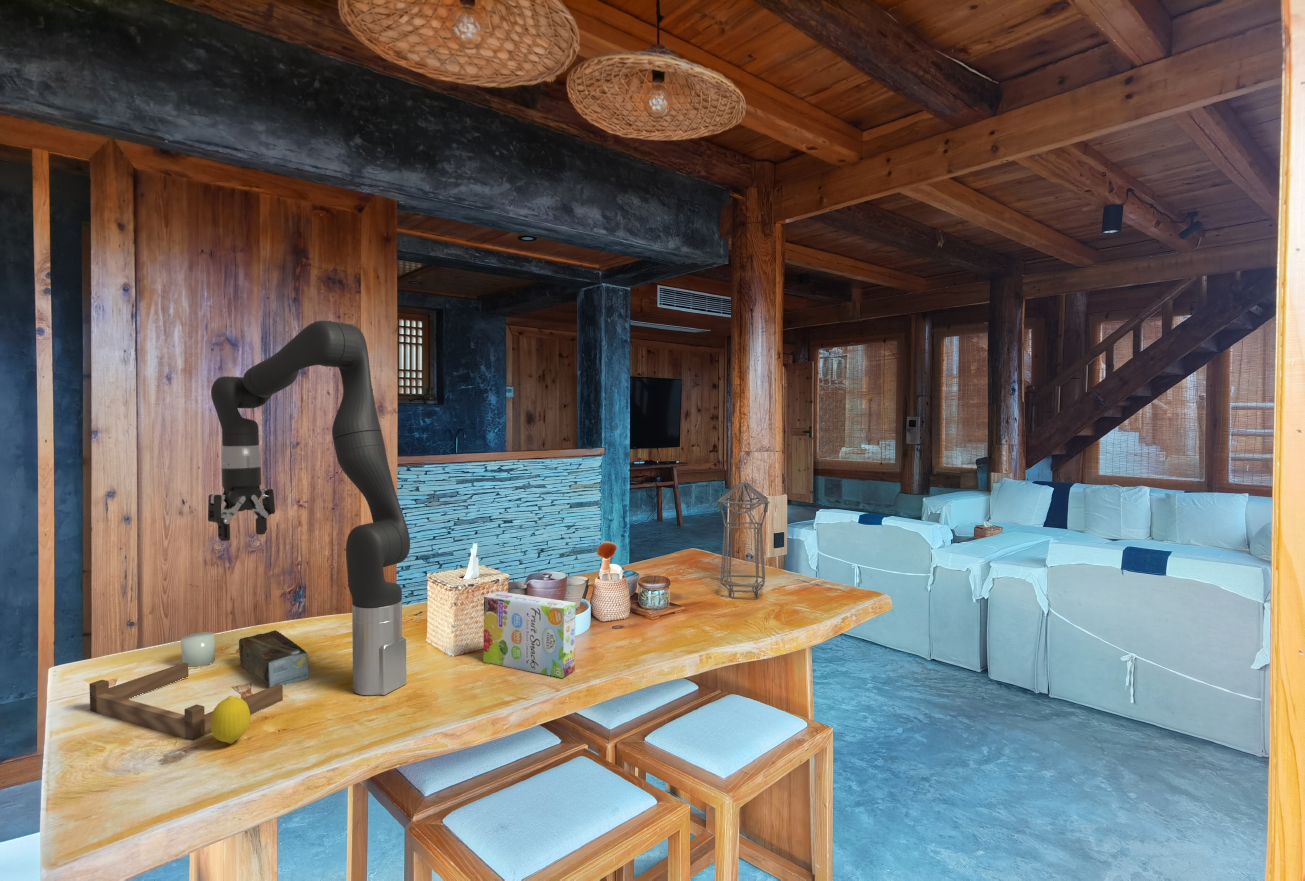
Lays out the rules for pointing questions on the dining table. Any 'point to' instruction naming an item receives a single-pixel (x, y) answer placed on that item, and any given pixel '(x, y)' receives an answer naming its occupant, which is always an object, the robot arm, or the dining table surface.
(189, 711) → the frame
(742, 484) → the geometric lantern
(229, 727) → the lemon
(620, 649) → the dining table surface
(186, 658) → the grey rounded cylinder
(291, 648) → the beverage carton
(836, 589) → the dining table surface
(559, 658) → the snack box
